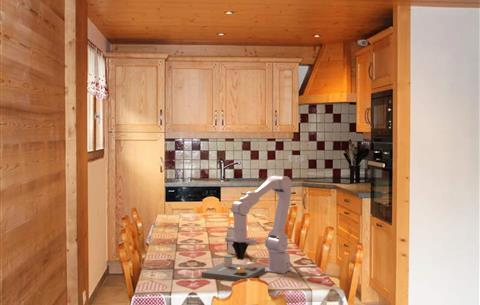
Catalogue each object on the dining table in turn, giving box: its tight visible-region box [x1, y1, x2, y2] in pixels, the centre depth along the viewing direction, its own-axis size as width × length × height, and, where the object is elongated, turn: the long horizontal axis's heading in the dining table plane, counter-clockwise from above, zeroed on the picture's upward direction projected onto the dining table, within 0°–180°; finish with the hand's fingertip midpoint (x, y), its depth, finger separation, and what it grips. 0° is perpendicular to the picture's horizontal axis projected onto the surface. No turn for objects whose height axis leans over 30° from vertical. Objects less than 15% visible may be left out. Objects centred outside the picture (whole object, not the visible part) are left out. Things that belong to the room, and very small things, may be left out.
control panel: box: [201, 262, 266, 282], centre depth 253 cm, size 22×20×2 cm
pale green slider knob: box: [223, 255, 233, 267], centre depth 259 cm, size 3×2×5 cm, turn 63°
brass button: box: [236, 267, 245, 275], centre depth 246 cm, size 4×4×3 cm
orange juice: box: [228, 211, 249, 238], centre depth 331 cm, size 8×9×20 cm
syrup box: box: [226, 225, 236, 255], centre depth 296 cm, size 6×6×14 cm
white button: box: [245, 261, 256, 270], centre depth 255 cm, size 4×4×3 cm
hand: (240, 259), depth 245 cm, fingers closed
